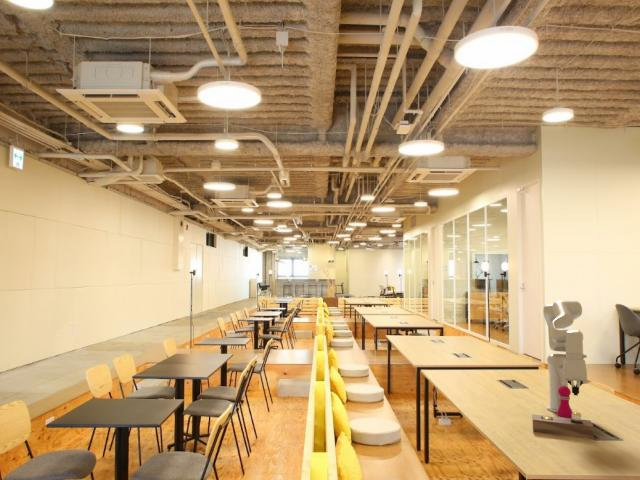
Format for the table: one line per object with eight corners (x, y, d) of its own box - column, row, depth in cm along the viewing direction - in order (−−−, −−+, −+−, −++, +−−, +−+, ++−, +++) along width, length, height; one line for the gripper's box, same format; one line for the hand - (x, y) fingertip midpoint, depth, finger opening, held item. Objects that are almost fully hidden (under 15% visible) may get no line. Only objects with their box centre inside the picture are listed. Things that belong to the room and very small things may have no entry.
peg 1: (542, 425, 238) (542, 416, 238) (551, 426, 236) (551, 417, 237) (543, 427, 234) (542, 418, 234) (552, 428, 233) (551, 419, 233)
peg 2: (571, 421, 233) (571, 411, 233) (580, 422, 232) (580, 412, 232) (572, 423, 229) (572, 414, 230) (581, 424, 228) (581, 415, 228)
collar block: (532, 426, 242) (532, 414, 243) (590, 433, 232) (590, 420, 233) (533, 432, 233) (533, 419, 233) (593, 439, 223) (593, 426, 223)
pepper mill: (559, 419, 254) (558, 381, 255) (574, 422, 249) (573, 383, 251) (556, 422, 248) (555, 383, 250) (571, 425, 244) (570, 385, 245)
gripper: (590, 356, 233) (592, 394, 232) (556, 354, 239) (557, 391, 238) (593, 359, 226) (594, 398, 225) (558, 356, 232) (559, 395, 231)
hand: (575, 394), depth 231 cm, fingers closed
